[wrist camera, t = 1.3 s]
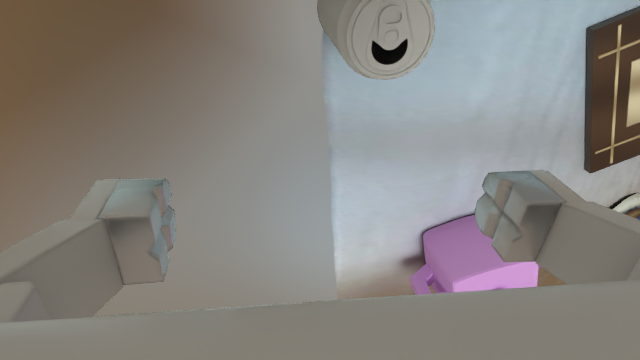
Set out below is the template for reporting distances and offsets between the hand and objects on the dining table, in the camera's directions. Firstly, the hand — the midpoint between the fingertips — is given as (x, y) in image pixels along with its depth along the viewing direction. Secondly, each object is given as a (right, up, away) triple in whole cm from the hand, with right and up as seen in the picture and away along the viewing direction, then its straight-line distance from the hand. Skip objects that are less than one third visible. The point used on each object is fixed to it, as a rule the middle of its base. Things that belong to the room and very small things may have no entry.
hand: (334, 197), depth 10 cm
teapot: (+19, -8, +43) cm, 47 cm away
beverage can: (+2, +16, +24) cm, 29 cm away
